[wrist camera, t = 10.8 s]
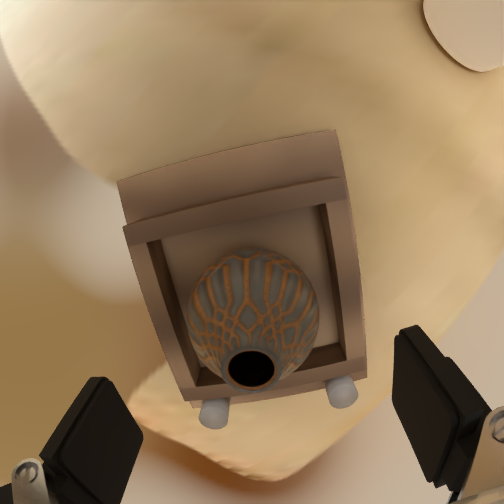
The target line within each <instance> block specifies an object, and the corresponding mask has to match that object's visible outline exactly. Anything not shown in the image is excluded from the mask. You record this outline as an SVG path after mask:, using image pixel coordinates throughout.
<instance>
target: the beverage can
mask: <svg viewBox="0 0 504 504" xmlns="http://www.w3.org/2000/svg"><path fill="white" fill-rule="evenodd" d="M423 9H424V15H425V18H426V21H427V23H428V26H429V28H430V30H431V31H432V33H433V35H434V36H435V38H436V39H437V41H438V42H439V43H440V45H441V46H442V47H443V48H444V49H445V50H446V51H447V52H448V53H449V54H450V55H451V56H452V57H453V58H454V59H455V60H456V61H458V62H459V63H461V64H462V65H464V66H465V67H467V68H469V69H472V70H475V71H479V72H486V71H490V70H493V69H496V68H499V67H502V66H504V0H424V2H423Z"/></svg>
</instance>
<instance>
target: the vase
mask: <svg viewBox="0 0 504 504" xmlns="http://www.w3.org/2000/svg"><path fill="white" fill-rule="evenodd" d="M319 319H320V314H319V304H318V300H317V296H316V293H315V290H314V288H313V286H312V284H311V282H310V280H309V279H308V277H307V276H306V274H305V273H304V272H303V271H302V269H301V268H300V267H299V266H298V265H297V264H296V263H295V262H294V261H292V260H291V259H290V258H288V257H286V256H285V255H283V254H281V253H278V252H276V251H273V250H270V249H265V248H257V247H250V248H242V249H237V250H234V251H231V252H228V253H226V254H224V255H222V256H220V257H219V258H217V259H216V260H214V261H213V262H212V263H211V264H210V265H209V266H208V267H207V268H206V269H205V270H204V271H203V272H202V274H201V275H200V277H199V278H198V280H197V281H196V283H195V285H194V287H193V289H192V292H191V294H190V297H189V301H188V307H187V327H188V332H189V337H190V340H191V343H192V346H193V348H194V350H195V352H196V353H197V355H198V357H199V358H200V360H201V361H202V362H203V363H204V364H205V365H206V366H207V367H208V368H209V369H210V370H211V371H212V372H214V373H215V374H216V375H218V376H220V377H221V378H223V379H224V381H225V382H226V383H227V384H228V385H229V386H230V387H232V388H234V389H235V390H238V391H240V392H244V393H259V392H263V391H266V390H268V389H270V388H272V387H273V386H274V385H275V384H276V383H277V382H278V381H279V380H281V379H283V378H285V377H286V376H288V375H290V374H291V373H292V372H294V371H295V370H296V369H297V368H298V367H299V366H300V365H301V364H302V363H303V362H304V361H305V359H306V358H307V357H308V355H309V353H310V352H311V350H312V348H313V345H314V343H315V340H316V337H317V333H318V328H319Z"/></svg>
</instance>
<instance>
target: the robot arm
mask: <svg viewBox="0 0 504 504" xmlns="http://www.w3.org/2000/svg"><path fill="white" fill-rule="evenodd" d="M392 402H393V406H394V408H395V410H396V412H397V415H398V417H399V419H400V421H401V423H402V425H403V428H404V430H405V432H406V434H407V437H408V439H409V441H410V443H411V445H412V448H413V450H414V452H415V455H416V457H417V459H418V462H419V464H420V466H421V469H422V471H423V473H424V476H425V478H426V480H427V482H429V483H430V482H432V481H433V483H434V486H435V488H438V487H441V486H443V485H445V484H446V485H447V487H448V489H449V491H451V494H450V496H449V499H448V501H447V503H446V504H504V406H502V407H498V408H496V409H495V410H493V411H492V410H491V409H490V407H489V406H488V405H487V403H486V402H485V401H484V399H483V398H482V397H481V395H480V394H479V393H478V392H477V390H476V389H475V388H474V386H473V385H472V384H471V382H470V381H469V380H468V379H467V378H466V376H465V375H464V374H463V372H462V371H461V370H460V369H459V368H458V366H457V365H456V364H455V362H453V360H452V359H451V358H450V357H444V356H443V354H442V353H441V352H440V351H439V349H438V348H437V347H436V346H435V344H434V343H433V342H432V341H431V340H430V338H429V337H428V336H427V335H426V334H425V332H424V331H423V330H422V329H421V328H420V327H419V326H418V325H414V326H411V327H407V328H404V329H401V330H400V332H399V335H396V336H395V339H394V369H393V388H392ZM142 442H143V433H142V431H141V429H140V428H139V426H138V425H137V423H136V421H135V420H134V418H133V417H132V415H131V413H130V412H129V410H128V408H127V407H126V405H125V403H124V402H123V400H122V398H121V396H120V395H119V393H118V391H117V389H116V388H115V386H114V384H113V382H111V381H109V379H108V378H106V377H91V378H90V379H89V380H88V381H87V383H86V384H85V386H84V387H83V388H82V390H81V391H80V393H79V394H78V396H77V397H76V399H75V400H74V402H73V403H72V405H71V406H70V408H69V409H68V411H67V412H66V414H65V415H64V417H63V418H62V420H61V421H60V423H59V425H58V426H57V427H56V429H55V431H54V432H53V434H52V435H51V437H50V438H49V440H48V442H47V443H46V445H45V446H44V448H43V450H42V451H41V453H40V455H39V456H40V457H41V459H42V460H43V461H44V463H43V464H41V463H40V462H39V461H38V460H36V459H30V458H29V459H25V460H23V461H21V462H20V463H18V464H17V465H16V467H15V468H14V469H13V471H12V474H11V483H9V484H7V485H4V486H2V487H0V504H120V503H121V500H122V497H123V494H124V491H125V488H126V486H127V482H128V480H129V477H130V474H131V472H132V469H133V466H134V464H135V461H136V458H137V455H138V453H139V449H140V447H141V444H142Z"/></svg>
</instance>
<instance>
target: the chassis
mask: <svg viewBox="0 0 504 504" xmlns="http://www.w3.org/2000/svg"><path fill="white" fill-rule="evenodd" d="M117 186H118V190H119V194H120V198H121V202H122V207H123V211H124V215H125V218H126V222H127V225H126V226H123V231H124V235H125V238H126V241H127V245H128V249H129V252H130V255H131V259H132V262H133V266H134V269H135V272H136V275H137V278H138V281H139V284H140V287H141V291H142V293H143V297H144V299H145V302H146V305H147V308H148V311H149V313H150V316H151V319H152V322H153V325H154V327H155V330H156V333H157V336H158V338H159V341H160V343H161V346H162V349H163V351H164V353H165V356H166V359H167V361H168V363H169V366H170V368H171V371H172V373H173V375H174V378H175V380H176V383H177V385H178V387H179V389H180V392H181V394H182V396H183V398H184V401H190V404H191V406H192V408H201V410H200V415H199V421H200V422H201V424H202V425H204V426H205V427H207V428H210V429H221V428H223V427H225V426H226V425H227V422H228V414H229V406H230V405H231V404H239V403H246V402H253V401H260V400H267V399H273V398H279V397H284V396H290V395H295V394H300V393H305V392H310V391H315V390H319V389H324V388H326V391H327V395H328V398H329V402H330V404H331V406H333V407H334V408H346V407H349V406H350V405H352V404H353V403H354V402H355V401H356V400H357V398H358V392H357V389H356V387H355V384H354V382H353V381H356V380H360V379H364V378H367V358H366V338H365V323H364V310H363V298H362V288H361V278H360V269H359V261H358V253H357V245H356V238H355V231H354V224H353V218H352V211H351V205H350V199H349V193H348V188H347V182H346V177H345V172H344V167H343V162H342V157H341V152H340V147H339V143H338V138H337V134H336V130H329V131H322V132H316V133H310V134H304V135H298V136H292V137H287V138H282V139H277V140H271V141H266V142H262V143H257V144H252V145H247V146H243V147H238V148H234V149H230V150H225V151H221V152H217V153H213V154H209V155H205V156H201V157H197V158H194V159H190V160H186V161H182V162H179V163H175V164H172V165H168V166H165V167H161V168H158V169H155V170H151V171H148V172H145V173H141V174H138V175H135V176H132V177H129V178H126V179H123V180H120V181H117ZM250 247H257V248H265V249H270V250H273V251H276V252H278V253H281V254H283V255H285V256H286V257H288V258H290V259H291V260H292V261H294V262H295V263H296V264H297V265H298V266H299V267H300V268H301V269H302V271H303V272H304V273H305V274H306V276H307V277H308V279H309V280H310V282H311V284H312V286H313V288H314V290H315V293H316V296H317V300H318V304H319V314H320V319H319V328H318V333H317V337H316V340H315V343H314V345H313V348H312V350H311V352H310V353H309V355H308V357H307V358H306V359H305V361H304V362H303V363H302V364H301V365H300V366H299V367H298V368H297V369H296V370H295V371H294V372H292V373H291V374H290V375H288V376H286V377H285V378H283V379H281V380H279V381H278V382H277V383H276V384H275V385H274V386H273V387H272V388H270V389H268V390H266V391H263V392H259V393H244V392H240V391H238V390H235V389H234V388H232V387H230V386H229V385H228V384H227V383H226V382H225V381H224V379H223V378H221V377H220V376H218V375H216V374H215V373H214V372H212V371H211V370H210V369H209V368H208V367H207V366H206V365H205V364H204V363H203V362H202V361H201V360H200V358H199V357H198V355H197V353H196V352H195V350H194V348H193V346H192V343H191V340H190V337H189V332H188V327H187V307H188V301H189V297H190V294H191V292H192V289H193V287H194V285H195V283H196V281H197V280H198V278H199V277H200V275H201V274H202V272H203V271H204V270H205V269H206V268H207V267H208V266H209V265H210V264H211V263H212V262H213V261H214V260H216V259H217V258H219V257H220V256H222V255H224V254H226V253H228V252H231V251H234V250H237V249H242V248H250Z"/></svg>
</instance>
